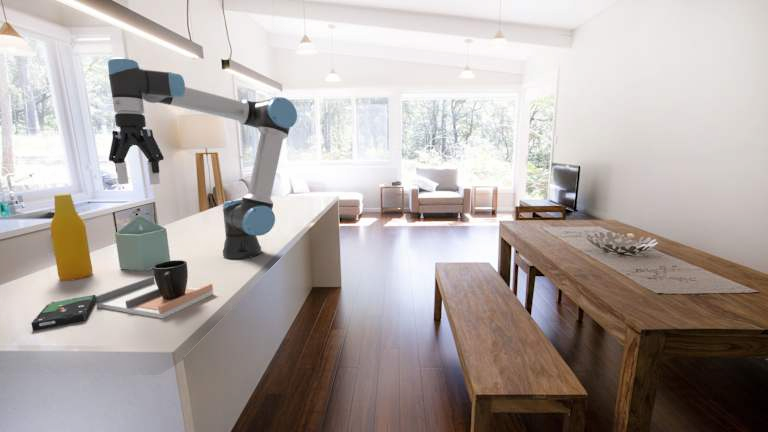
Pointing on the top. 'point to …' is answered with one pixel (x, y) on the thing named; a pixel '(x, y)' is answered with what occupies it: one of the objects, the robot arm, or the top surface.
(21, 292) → the top surface
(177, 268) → the mug
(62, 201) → the beer bottle
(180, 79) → the robot arm
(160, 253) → the planter
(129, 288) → the slot rack
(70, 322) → the disk drive
